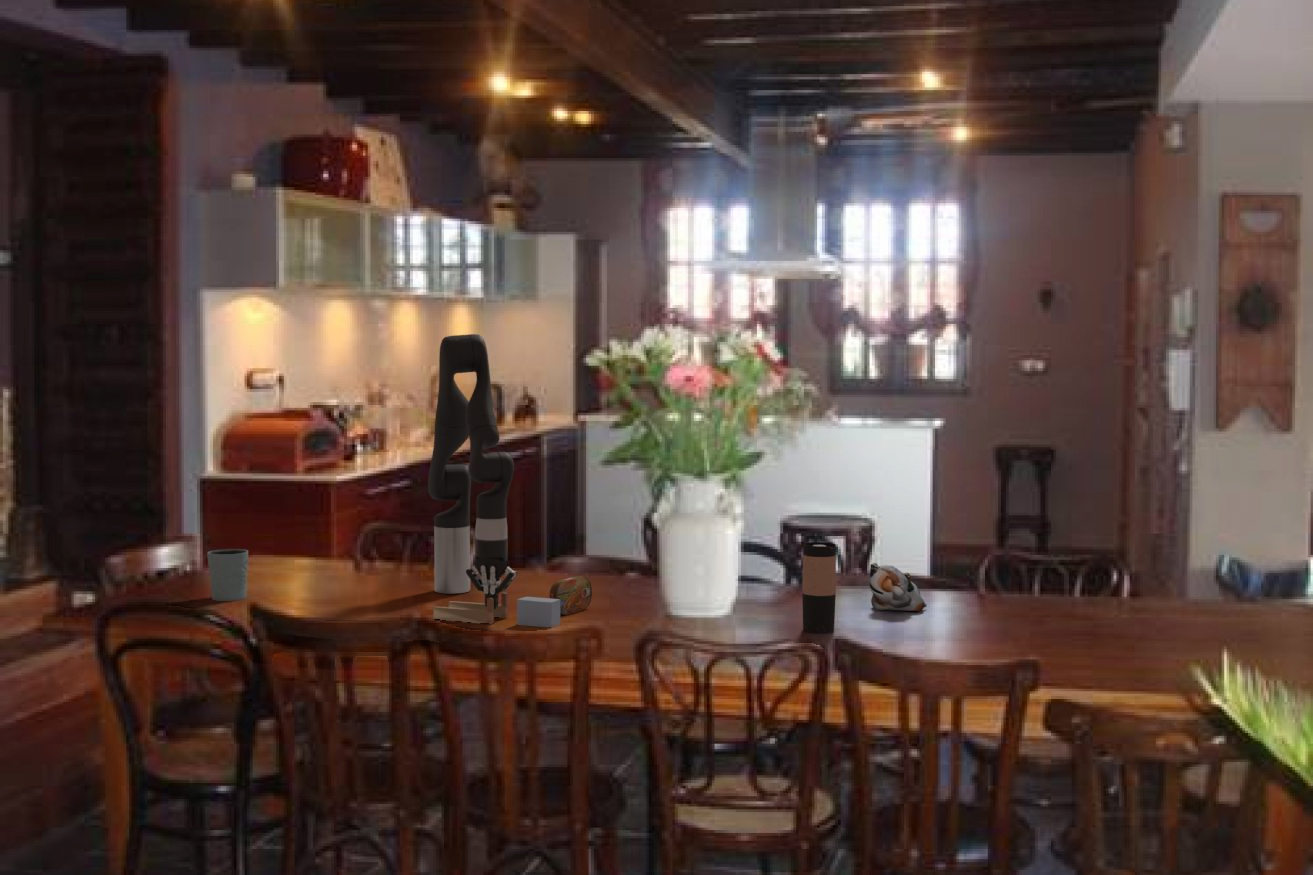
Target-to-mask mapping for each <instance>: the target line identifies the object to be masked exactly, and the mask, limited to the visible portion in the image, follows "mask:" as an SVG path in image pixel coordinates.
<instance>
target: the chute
mask: <svg viewBox="0 0 1313 875" xmlns="http://www.w3.org/2000/svg"><path fill="white" fill-rule="evenodd" d="M500 594H501V596H500V597H501V600H500V604H498V607H496V609H494V598H487V607H486V606H485V602H484V603H481V602H472V601H471V602H469V601H458V600H457V601H454V600H450V601H448V607H447V606H438V605H437V606H433V608H432V609H433V620H434V619H440V620H439V621H442V620H446V621H447V622H455V621H462V622H461V623H467V622H471V623H470V624H480V623H489V624H488V625H493V624H492V623H495V618H494V617H499V618H498V619H508V618H509V592H505V591H502V592H500Z"/></svg>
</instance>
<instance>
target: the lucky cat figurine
mask: <svg viewBox="0 0 1313 875" xmlns="http://www.w3.org/2000/svg"><path fill="white" fill-rule="evenodd" d="M869 572H870V573H869V574H870V575H869V589H870V591H871V593H872V596H871V599H870V602H871V606H872V607H873V608H874V609H875V610H877V611H878V610H879V611H886V610H887V611H904V612H906V611H907V612H916V613H919V612H922V611H923V609H924V608H927V605H928V604H927V603H926V602H925V600H924V599H923V597H922V596H921V592H920V590H919V587H918V586H917V585H916V584H915V583H914V582H912V581H911V579H912V576H911V575H910V573H909V572H905V573H904V572H902V571H901V570H900V569H898V568H897V567H895V566H894V565H887V564H885V565H880V566H879V565H878V563H876V562H874V563H871V564H870V568H869Z"/></svg>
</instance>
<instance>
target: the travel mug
mask: <svg viewBox="0 0 1313 875" xmlns="http://www.w3.org/2000/svg"><path fill="white" fill-rule="evenodd" d="M802 546H803V547H802V548H803V549H802V551H803V552H802V595H801V598H802V600H801V601H802V605H801V606H802V631H803V632H807V633H810V632H812V633H811V634H829V633H828V632H830V633H834V631H835V616H836V615H835V614H836V595H837V594H836V593H837V592H836V591H837V590H836V589H837V586H836V585H837V582H836V581H837V575H836V574H837V573H836V572H837V571H836V570H837V558H836V557H837V545H836V544H835V543H834V542H824V541H808V542H804V543H803V544H802Z"/></svg>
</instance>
